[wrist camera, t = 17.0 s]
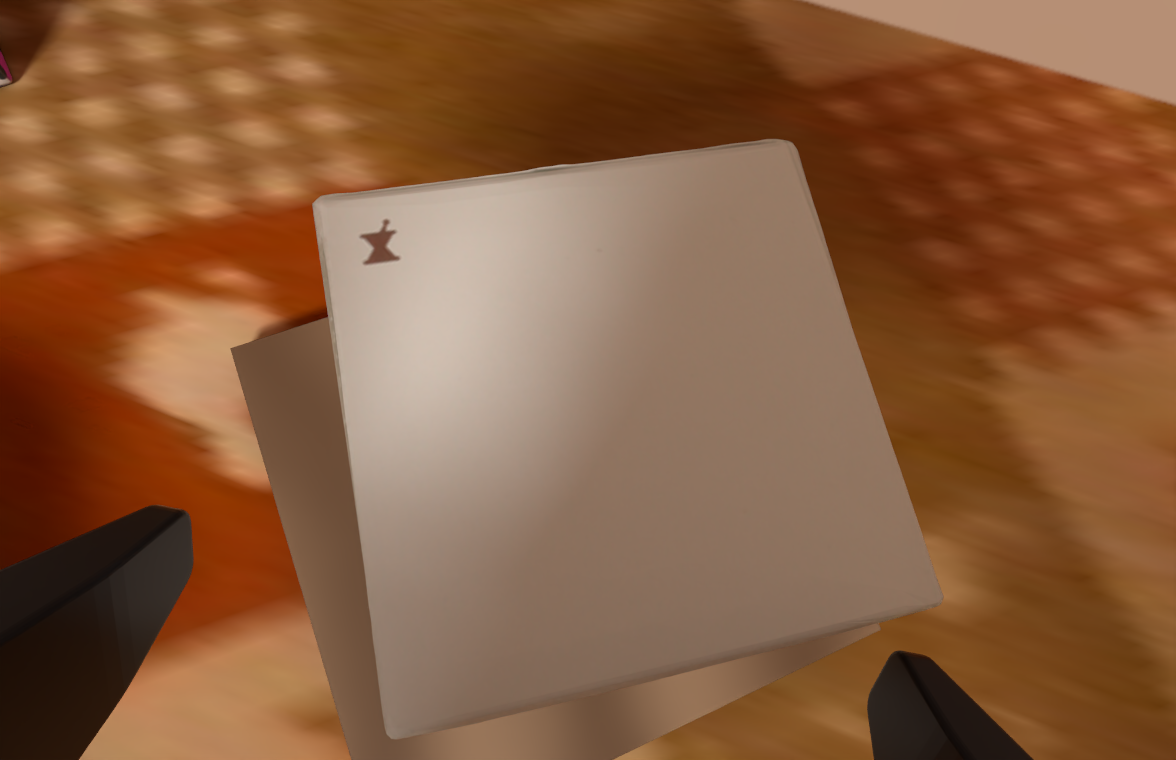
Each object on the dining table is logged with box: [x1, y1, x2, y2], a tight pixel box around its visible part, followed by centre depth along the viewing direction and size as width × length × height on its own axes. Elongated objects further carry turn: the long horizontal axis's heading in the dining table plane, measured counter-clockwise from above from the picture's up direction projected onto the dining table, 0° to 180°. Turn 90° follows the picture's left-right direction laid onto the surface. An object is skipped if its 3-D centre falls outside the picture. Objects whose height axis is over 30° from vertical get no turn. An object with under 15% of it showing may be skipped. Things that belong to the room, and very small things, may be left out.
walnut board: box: [230, 317, 881, 760], centre depth 22 cm, size 15×15×1 cm
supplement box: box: [312, 139, 943, 739], centre depth 15 cm, size 7×7×13 cm
